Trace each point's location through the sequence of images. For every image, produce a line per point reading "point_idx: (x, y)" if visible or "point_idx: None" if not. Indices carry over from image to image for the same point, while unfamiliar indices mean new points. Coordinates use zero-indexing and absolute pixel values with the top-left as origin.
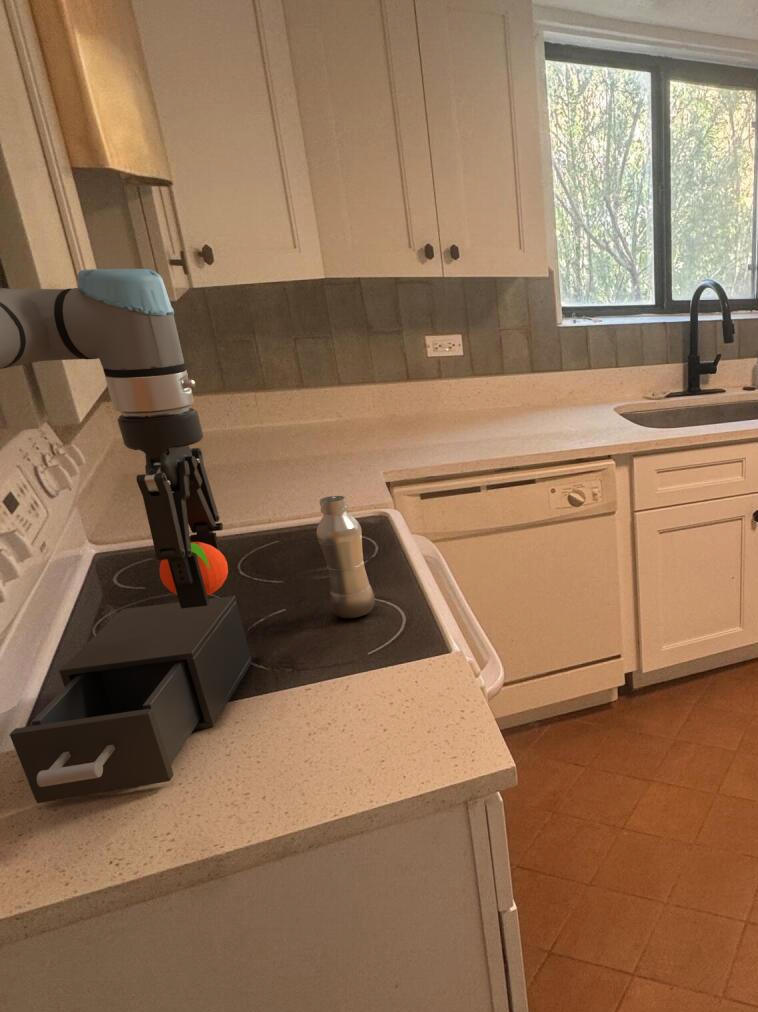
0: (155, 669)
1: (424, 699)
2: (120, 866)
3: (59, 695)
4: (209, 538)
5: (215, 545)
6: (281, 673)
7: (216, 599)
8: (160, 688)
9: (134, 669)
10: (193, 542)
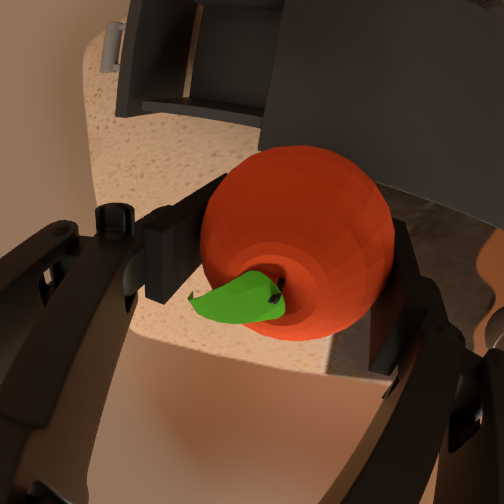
0: None
1: (238, 331)
2: (93, 98)
3: None
4: (374, 347)
5: (370, 336)
6: (402, 219)
7: None
8: (182, 111)
9: None
10: (310, 310)
